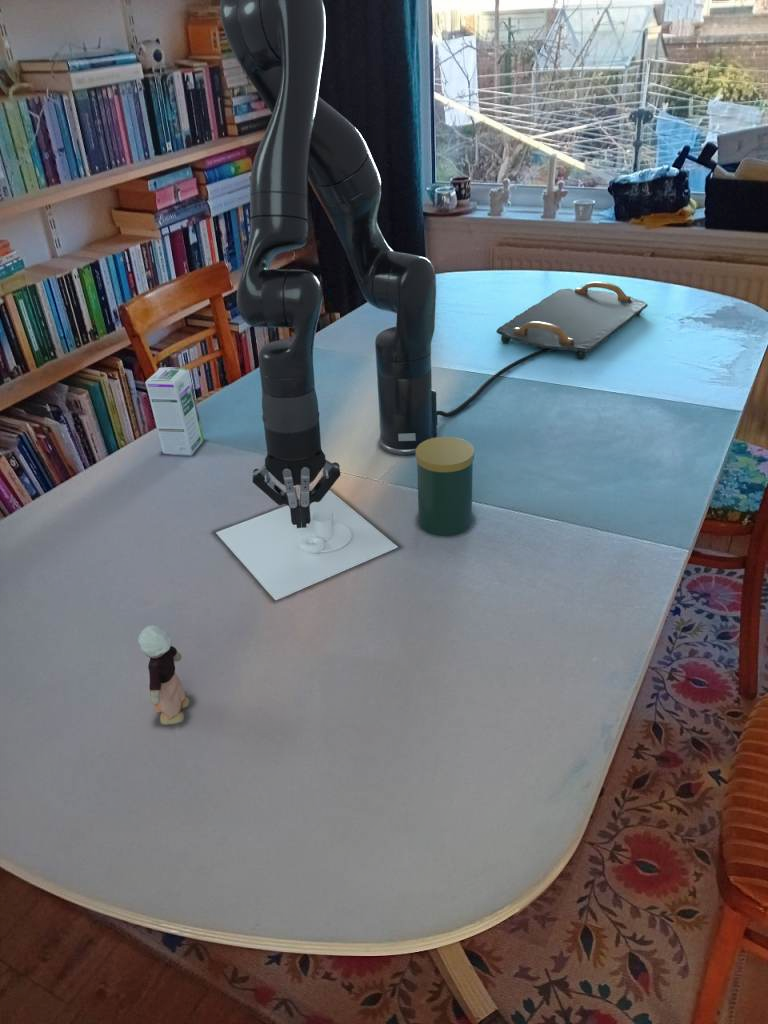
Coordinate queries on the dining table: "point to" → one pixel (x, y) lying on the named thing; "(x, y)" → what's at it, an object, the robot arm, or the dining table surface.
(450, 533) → the tea tin
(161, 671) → the grandmother figurine
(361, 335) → the dining table surface
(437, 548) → the dining table surface
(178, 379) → the syrup box
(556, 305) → the serving tray
